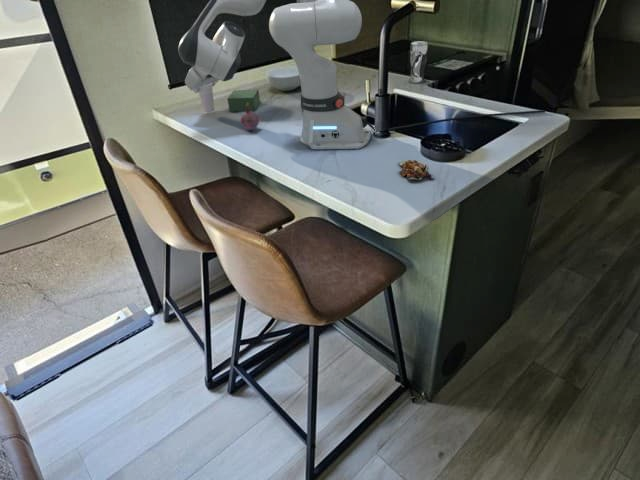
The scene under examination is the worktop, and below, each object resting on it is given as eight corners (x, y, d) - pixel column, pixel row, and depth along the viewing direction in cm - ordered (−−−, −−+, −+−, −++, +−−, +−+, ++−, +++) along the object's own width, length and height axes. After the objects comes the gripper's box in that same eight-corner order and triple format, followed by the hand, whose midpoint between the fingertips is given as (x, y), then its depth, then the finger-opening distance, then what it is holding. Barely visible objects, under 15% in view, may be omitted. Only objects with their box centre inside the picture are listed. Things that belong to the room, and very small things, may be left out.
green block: (260, 101, 173) (258, 89, 170) (255, 110, 165) (253, 97, 162) (235, 102, 174) (233, 90, 172) (229, 111, 166) (227, 98, 163)
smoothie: (213, 113, 160) (205, 74, 152) (197, 113, 162) (189, 74, 154) (220, 107, 165) (212, 69, 157) (204, 107, 167) (196, 69, 159)
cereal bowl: (302, 94, 178) (300, 76, 174) (263, 94, 181) (261, 77, 176) (310, 82, 191) (309, 65, 187) (274, 82, 194) (272, 65, 190)
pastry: (414, 160, 123) (414, 149, 121) (434, 179, 114) (436, 167, 112) (391, 165, 122) (391, 153, 120) (410, 184, 112) (411, 172, 110)
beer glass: (421, 84, 179) (424, 45, 170) (405, 82, 182) (407, 44, 173) (427, 79, 183) (430, 41, 175) (411, 78, 186) (414, 40, 178)
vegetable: (240, 134, 147) (235, 105, 141) (245, 127, 152) (240, 99, 146) (258, 134, 146) (253, 105, 140) (262, 127, 151) (258, 99, 145)
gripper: (231, 48, 155) (217, 74, 166) (189, 62, 142) (176, 89, 152) (243, 62, 156) (228, 87, 166) (201, 77, 142) (188, 103, 153)
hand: (203, 88), depth 159 cm, fingers closed on smoothie, 6 cm apart
